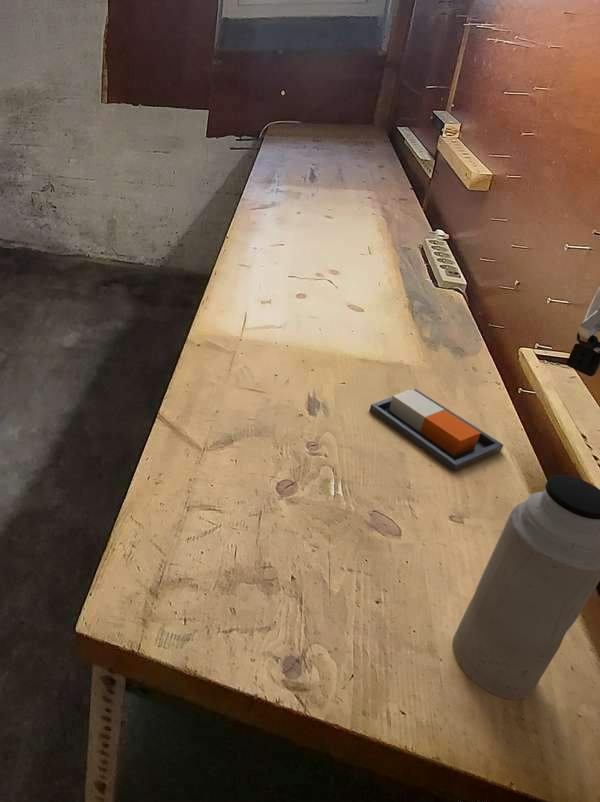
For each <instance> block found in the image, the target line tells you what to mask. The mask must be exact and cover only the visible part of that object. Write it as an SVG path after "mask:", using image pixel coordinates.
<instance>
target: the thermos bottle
mask: <svg viewBox="0 0 600 802" xmlns="http://www.w3.org/2000/svg"><path fill="white" fill-rule="evenodd" d="M544 486H545V489H544V490H543V491H537V492H534V493H532V494H530V495H529V496H528V497H527V499H526V500H524V501H523V502H521V503H518V504H516V505H515V506H514V507H513V508H512V510H511V512H510V514H509V516H508V519H507V520H506V523H505V525H504V527H503V529H502V531H501V533H500V536H499V538H498V540H497V542H496V544H495V547H494V548H493V551H492V553H491V556H490V557H489V559H488V562H487V563H486V565H485V568H484V570H483V572H482V574H481V577H480V579H479V581H478V584H477V586H476V589H475V592H474V594H473V595H472V597H471V599H470V601H469V603H468V605H467V608H466V609H465V611H464V614H463V615H462V618H461V620H460V622H459V624H458V626H457V629H456V631H455V633H454V635H453V637H452V642H451V643H452V644H451V645H452V651H453V654H454V656H455V659H456V661H457V663H458V664H459V666H460V667H461V669H462V670H463V672H465V674H466V675H467V676H468V677H469V678H470V679H471V680H472V681H474V683H476V684H477V685H478V686H480V687H481V688H482V689H484V690H486V691H487V692H489V693H491V694H493V695H495V696H498V697H500V698H503V699H508V700H516V701H517V700H522V699H526V698H528V697H530V695H531V694H532V693H533V692H534V690H535V689H536V687H537V685H538V684H539V683H540V681H541V679H542V677H543V675H544V673H545V672H546V671H547V669H548V668H549V665H550V664H551V663H552V660H553V659H554V657H555V656H556V654H557V652H558V651H559V649H560V647H561V645H562V642H563V640H564V637H565V636H566V634H567V632H568V631H569V630H570V628H571V627H572V626H573V625H574V624H575V622H576V621H577V619H578V617H579V616H580V615H581V613H582V612H583V610H584V608H585V606H586V604H587V603H588V601H589V599H590V598H591V596H592V594H594V591H595V590H596V588H597V586H598V585H599V583H600V488H599V487H597V486H595V485H594V484H591V483H590V482H588V481H586V480H585V479H584V480H583V479H581V478H578V477H575V476H571V475H565V474H555V475H552V476H550V477H549V478H548V479H547V480H546V484H545V485H544Z"/></svg>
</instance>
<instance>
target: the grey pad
mask: <svg viewBox="0 0 600 802" xmlns="http://www.w3.org/2000/svg"><path fill="white" fill-rule="evenodd" d="M391 397H392V400H391V404H390V407H389V411H390V412H392V413H393V414H395V415H396V416H397V417H399V418H400V419H402V420H403V421H405V422H406V423H407V424H409V425H410V426H412V427H413V428H415V429H416V430H417V431H419V432H420V431H421V428H422V425H423V422H424V419H425V417H427V416H430V415H432V414H435V413H437V412H440V411H443V410H444V409H443V408H441V407H440V406H438V405H437V404H435V403H433V402H432V401H430V400H429V399H427V398H426V397H424V396H422V395H421V394H419V393H418V392H416V391H415V390H413V388H411V389H407V390H405V391H402V392H400V393H397V394H394V395H392V396H391Z"/></svg>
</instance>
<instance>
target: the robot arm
mask: <svg viewBox="0 0 600 802" xmlns="http://www.w3.org/2000/svg"><path fill="white" fill-rule="evenodd" d="M596 333H597V334H599V335H600V286H599V287H598V289H597V290H596V292H595V294H594V297H593V298H592V300H591V303H590V305H589V306H588V308H587V312H586V314H585V317H584V319H583V321H582V322H581V323H580V325H579V327H578V332H577V333H576V339H575V340H574V345H573V347H572V350H571V351H570V354H569V357H568V358H567V361H566V366H567V367H568V368H571V369H573V370H574V371H577V372H579V373H581V374H583V375H586V376H588V377H593V376H595V375H596V374H597V371H598V369H599V367H600V341H599V339H598V336H596Z"/></svg>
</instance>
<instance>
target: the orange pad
mask: <svg viewBox="0 0 600 802" xmlns="http://www.w3.org/2000/svg"><path fill="white" fill-rule="evenodd" d="M420 433H422V434H423V435H424V436H426V437H427V438H429V439H430V440H432V441H433V442H434V443H436V444H437V445H439V446H440V447H442V448H443V449H444V450H446V451H447V452H449V453H450V454H452V455H453V456H454V457H455V456H458V455H460V454H462V453H465V452H467V451H469V450H472V449H474V448H475V446H476V444H477V441H478V439H479V436H480V434H481V433H480V432H479V431H477V430H476V429H474V428H473V427H471V426H470V425H468V424H466V423H465V422H463V421H462V420H460V419H459V418H457V417H455V416H454V415H452V414H451V413H449V412H448V411H446V410H443V411H440V412H437V413H435V414H432V415H430V416H427V417H425V419H424V422H423V425H422V428H421V431H420Z"/></svg>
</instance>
